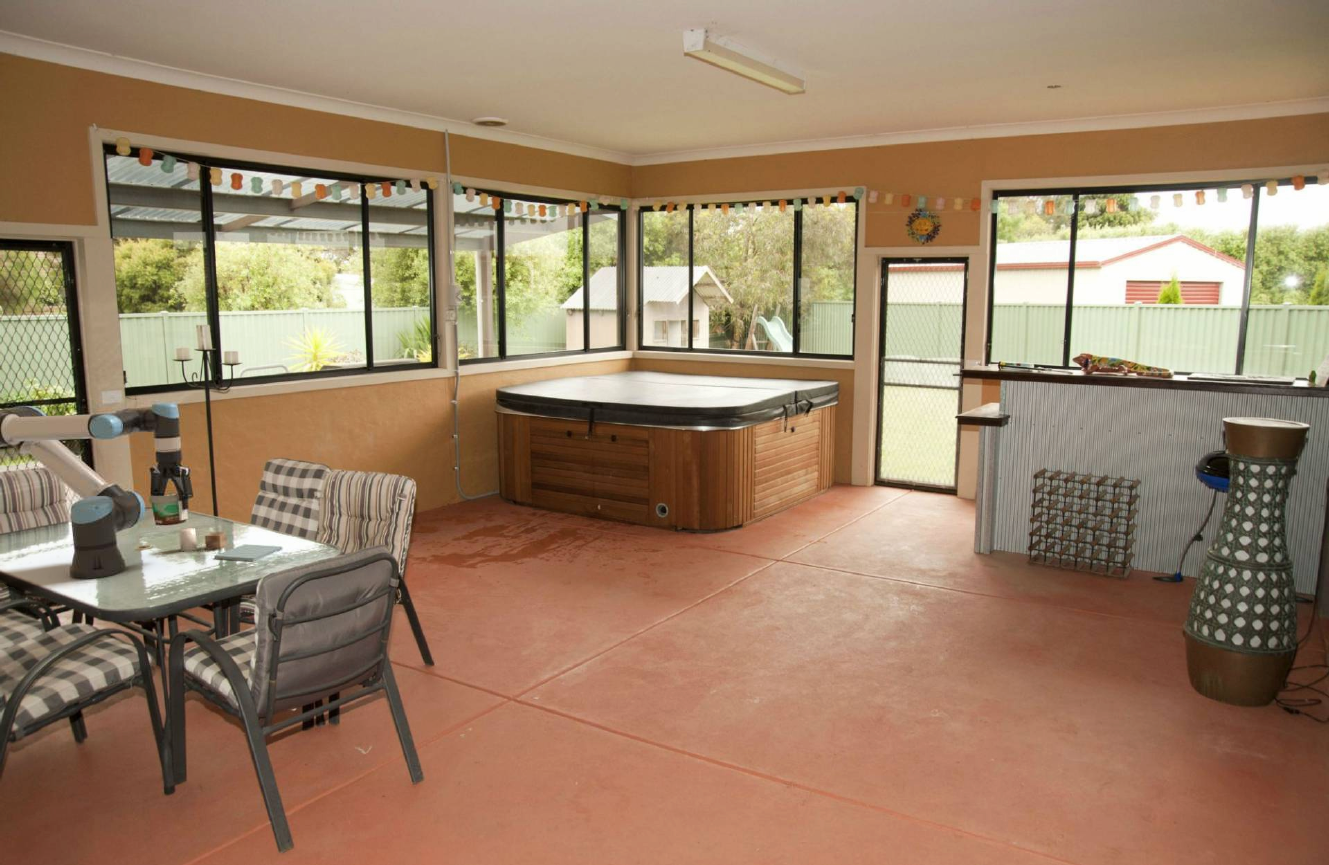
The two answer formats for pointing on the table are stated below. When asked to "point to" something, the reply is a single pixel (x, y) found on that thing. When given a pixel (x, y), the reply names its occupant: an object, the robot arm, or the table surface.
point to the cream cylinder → (187, 539)
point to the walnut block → (216, 540)
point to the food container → (166, 509)
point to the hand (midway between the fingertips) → (173, 518)
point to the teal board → (248, 552)
